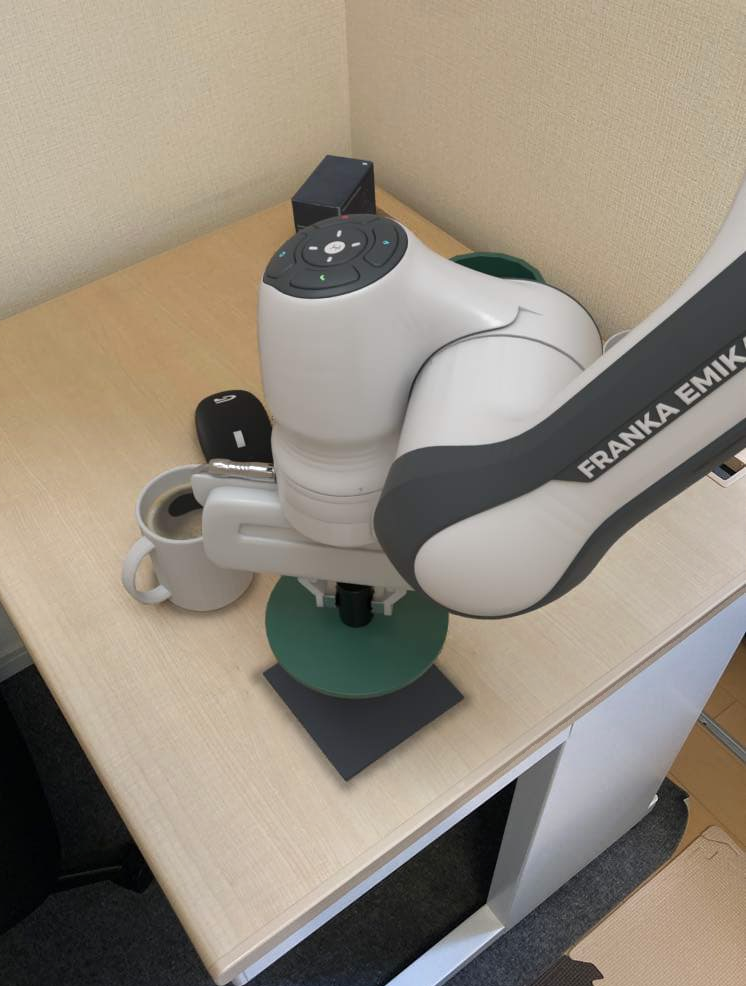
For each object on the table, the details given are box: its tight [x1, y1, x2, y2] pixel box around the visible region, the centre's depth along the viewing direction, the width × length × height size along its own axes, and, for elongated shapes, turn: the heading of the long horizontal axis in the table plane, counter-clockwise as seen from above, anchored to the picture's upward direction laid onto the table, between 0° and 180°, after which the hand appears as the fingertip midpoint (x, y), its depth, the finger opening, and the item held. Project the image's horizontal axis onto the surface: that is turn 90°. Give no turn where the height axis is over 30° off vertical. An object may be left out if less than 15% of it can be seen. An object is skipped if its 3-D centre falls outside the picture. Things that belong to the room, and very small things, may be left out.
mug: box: [121, 463, 255, 612], centre depth 80 cm, size 11×10×10 cm
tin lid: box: [264, 575, 450, 699], centre depth 66 cm, size 14×14×6 cm
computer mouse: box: [194, 389, 274, 464], centre depth 93 cm, size 8×12×4 cm, turn 18°
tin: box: [447, 251, 548, 284], centre depth 98 cm, size 13×13×8 cm
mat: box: [262, 662, 465, 782], centre depth 76 cm, size 12×12×1 cm
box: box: [290, 154, 377, 234], centre depth 110 cm, size 11×7×10 cm, turn 157°
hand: (356, 603), depth 66 cm, fingers closed on tin lid, 2 cm apart
